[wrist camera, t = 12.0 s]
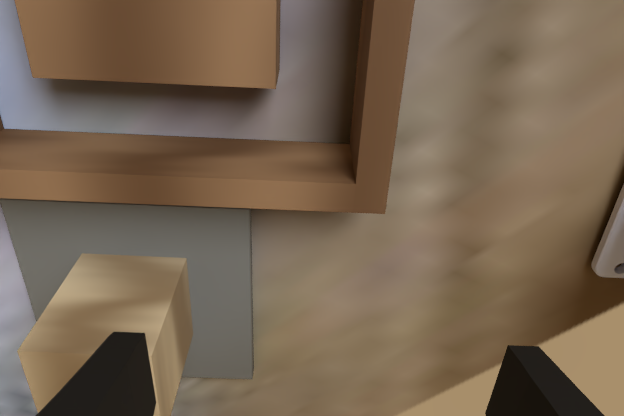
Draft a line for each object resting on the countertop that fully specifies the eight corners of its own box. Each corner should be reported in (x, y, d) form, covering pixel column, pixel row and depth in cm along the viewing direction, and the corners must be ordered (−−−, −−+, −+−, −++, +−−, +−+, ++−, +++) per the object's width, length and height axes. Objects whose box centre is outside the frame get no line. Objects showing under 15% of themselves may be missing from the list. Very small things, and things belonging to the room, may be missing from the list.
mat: (250, 201, 19) (248, 209, 19) (253, 368, 24) (252, 379, 23) (7, 191, 19) (-1, 199, 18) (58, 362, 24) (52, 372, 23)
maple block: (186, 258, 20) (151, 356, 15) (193, 333, 22) (163, 439, 18) (81, 253, 20) (17, 351, 15) (98, 329, 22) (45, 435, 17)
